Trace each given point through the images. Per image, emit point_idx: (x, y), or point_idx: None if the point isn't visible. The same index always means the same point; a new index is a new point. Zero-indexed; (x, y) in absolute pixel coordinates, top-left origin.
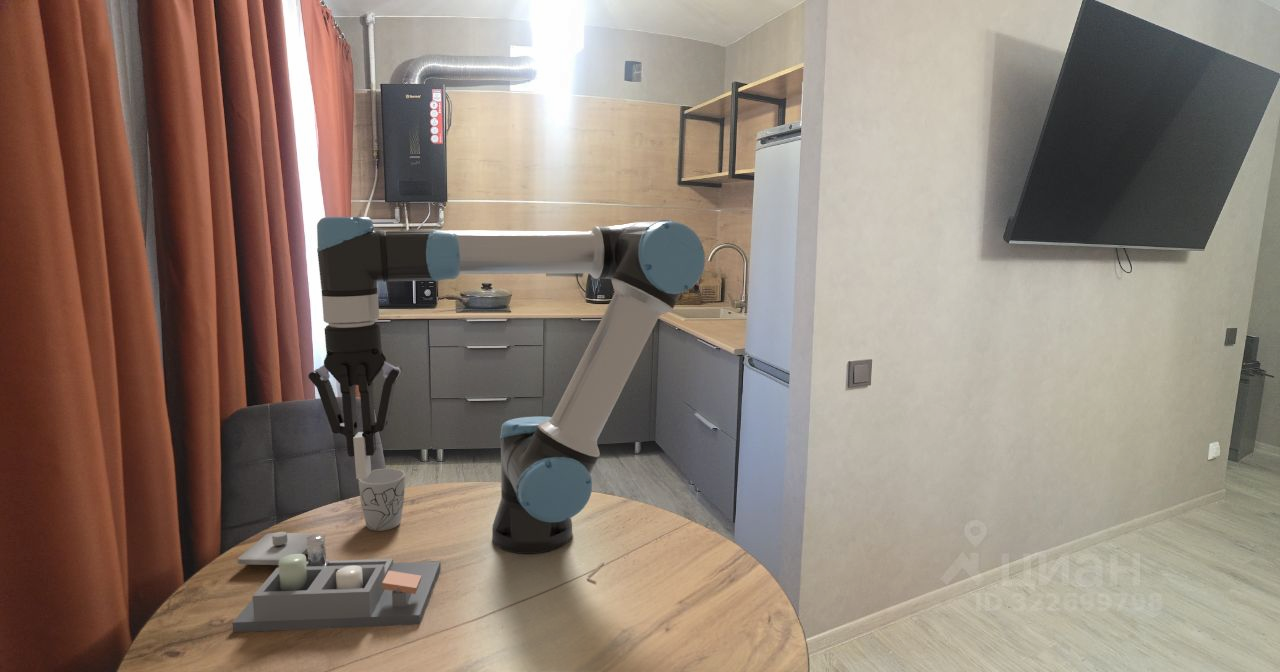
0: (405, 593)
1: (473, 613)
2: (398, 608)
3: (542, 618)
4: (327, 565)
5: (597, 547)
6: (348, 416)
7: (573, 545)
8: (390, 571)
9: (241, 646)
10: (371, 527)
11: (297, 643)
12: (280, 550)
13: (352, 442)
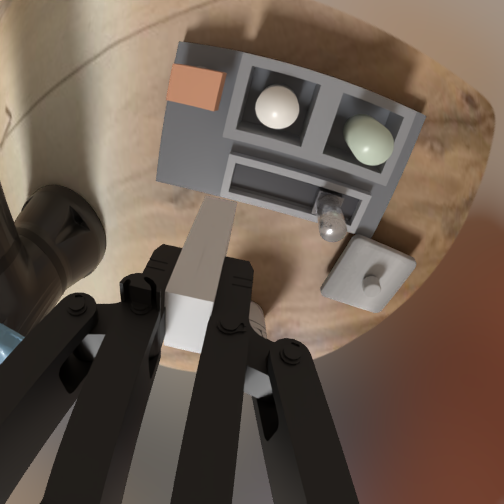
0: None
1: (117, 56)
2: (208, 64)
3: (51, 40)
4: (313, 205)
5: (7, 183)
6: (212, 407)
7: (25, 194)
8: (211, 108)
9: (409, 75)
10: (257, 305)
11: (345, 49)
12: (370, 267)
13: (225, 297)
